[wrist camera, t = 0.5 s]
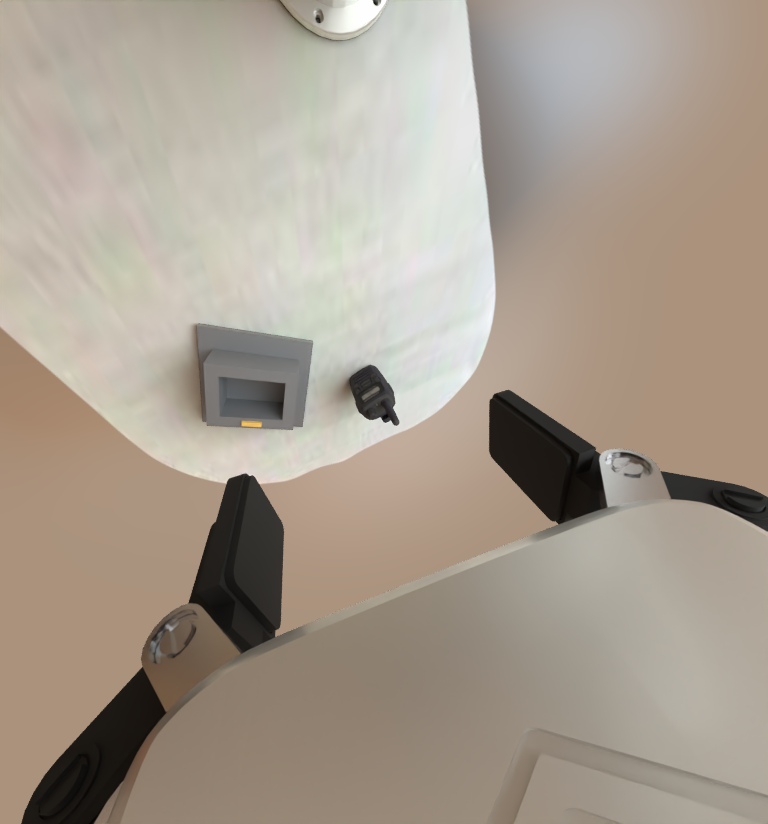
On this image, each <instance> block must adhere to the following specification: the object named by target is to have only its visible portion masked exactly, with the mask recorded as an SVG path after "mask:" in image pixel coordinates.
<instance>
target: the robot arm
mask: <svg viewBox="0 0 768 824" xmlns="http://www.w3.org/2000/svg"><path fill="white" fill-rule="evenodd" d="M280 1H281V2H282V3H283V4H284V6H285V7H286V8H287V9H288V10H289V12H290V13H291V14H292V15H293V17H294V18H296V19H297V20H298V21H299V22H300V23H301V24H302V25H304V26H305V27H306V28H307V29H309V30H311V31H312V32H314V33H316V34H318V35H319V36H322V37H325V38H329V39H332V40H347V39H350V38H354V37H357V36H359V35H360V34H362V33H363V32H365V31H367V30H368V29H369V28H370V27H371V26H372V25H373V24H374V23H375V22H376V20H377V19H378V18H379V17H380V15H381V13H382V11H383V10H384V8H385V6H386V5H387V2H388V0H280ZM373 1H375V2H376V3H377V6H375V5H374V4H373ZM316 18H319V19H320V21H321V23H317V22H316V20H315V19H316ZM489 411H490V412H489V417H490V418H489V421H490V422H489V452H490V455H491V457H492V458H493V459H494V461H495V462H496V463H497V464H498V465H499V466H500V467H501V468H502V469H503V470H504V471H505V472H506V473H507V474H508V475H509V477H511V479H512V480H513V481H514V482H515V483H516V484H517V485H518V486H519V487H520V488H521V489H522V490H523V492H524V493H525V494H526V495H527V496H528V497H529V498H530V499H531V500H532V501H533V502H534V503H535V504H536V506H537V507H538V508H539V509H540V510H541V511H542V512H543V513H544V514H545V515H546V516H547V517H548V518H549V519H550V520H551V521H556V522H557V523H558V524H559V525H556V526H554V527H551V528H548V529H546V530H543V531H541V532H538V533H536V534H533V535H531V536H528V537H525V538H522V539H520V540H517V541H515V542H512V543H510V544H507V545H504V546H502V547H499V548H497V549H494V550H492V551H489V552H486V553H484V554H481V555H479V556H476V557H474V558H471V559H468V560H466V561H463V562H461V563H458V564H456V565H453V566H451V567H448V568H446V569H443V570H441V571H438V572H436V573H433V574H430V575H428V576H425V577H423V578H420V579H418V580H415V581H412V582H410V583H408V584H405V585H402V586H400V587H397V588H395V589H393V590H390V591H387V592H385V593H382V594H380V595H377V596H375V597H372V598H370V599H367V600H365V601H362V602H360V603H357V604H355V605H352V606H350V607H347V608H345V609H342V610H340V611H337V612H335V613H332V614H330V615H327V616H325V617H322V618H320V619H318V620H315V621H313V622H311V623H308V624H306V625H303V626H301V627H298V628H296V629H294V630H291V631H289V632H286V633H284V634H282V635H280V636H277V637H275V630H277V629H279V628H280V622H281V598H282V569H283V541H284V540H283V539H284V529H283V524H282V522H281V520H280V519H279V517H278V515H277V514H276V512H275V510H274V508H273V507H272V505H271V504H270V502H269V500H268V498H267V497H266V495H265V493H264V492H263V490H262V488H261V487H260V485H259V483H258V482H257V480H256V478H255V477H254V476H249V475H248V474H242V475H239V476H236V477H233V478H230V479H228V481H227V485H226V488H225V492H224V495H223V499H222V502H221V506H220V510H219V514H218V517H217V520H216V522H215V523H214V524H213V525H212V527H211V529H210V532H209V535H208V539H207V542H206V546H205V549H204V553H203V556H202V559H201V563H200V566H199V569H198V573H197V576H196V580H195V583H194V586H193V590H192V593H191V597H190V600H189V603H188V604H186V605H182V606H180V607H179V608H176V609H175V610H173V611H172V612H170V613H169V614H168V615H167V616H165V617H164V618H163V619H162V620H161V621H160V622H159V624H157V626H156V627H155V628H154V629H153V631H152V633H151V634H150V635H149V637H148V638H147V641H146V643H145V645H144V647H143V651H142V657H141V661H142V666H143V667H142V668H141V669H140V670H139V671H138V672H137V674H136V675H135V676H134V677H133V678H132V679H131V680H130V681H129V682H128V683H127V685H126V686H125V687H124V688H123V689H122V690H121V691H120V692H119V693H118V694H117V695H116V696H115V698H114V699H113V700H112V701H111V702H110V703H109V704H108V705H107V706H106V707H105V708H104V709H103V711H102V712H101V713H100V714H99V715H98V716H97V717H96V718H95V719H94V720H93V722H92V723H91V724H90V725H89V726H88V727H87V728H86V729H85V730H84V731H83V732H82V733H81V734H80V736H79V737H78V738H77V739H76V740H75V741H74V742H73V743H72V745H70V747H69V748H68V749H67V750H66V751H65V752H64V753H63V754H62V755H61V756H60V757H59V759H58V760H57V761H56V762H55V763H54V764H53V766H52V767H51V768H50V769H49V771H48V772H47V773H46V774H45V776H44V777H43V779H42V780H41V782H40V784H39V785H38V787H37V788H36V790H35V791H34V793H33V795H32V797H31V799H30V801H29V804H28V806H27V808H26V810H25V813H24V816H23V819H22V823H21V824H768V497H766V496H764V495H763V494H761V493H759V492H757V491H754V490H752V489H749V488H746V487H743V486H739V485H735V484H731V483H725V482H719V481H714V480H708V479H702V478H697V477H690V476H685V475H679V474H674V473H668V472H662V471H660V469H659V467H658V466H657V464H656V463H655V462H654V461H653V460H652V459H650V458H649V457H647V456H645V455H643V454H641V453H638V452H635V451H632V450H627V449H611V450H607V451H605V452H603V453H602V454H599V453H598V452H596V451H595V450H596V448H595V447H594V446H592V445H591V444H589V443H588V442H586V441H585V440H583V439H582V438H580V437H579V436H577V435H576V434H575V433H573V432H572V431H570V430H569V429H567V428H565V427H564V426H562V425H561V424H559V423H558V422H557V421H555V420H554V419H552V418H551V417H549V416H548V415H546V414H545V413H543V412H542V411H540V410H539V409H537V408H536V407H534V406H533V405H531V404H530V403H528V402H527V401H525V400H524V399H522V398H521V397H519V396H518V395H516V394H515V393H513V392H512V391H510V390H506V391H502V392H499V393H496V394H494V395H493V398H492V399H491V400H490V410H489Z"/></svg>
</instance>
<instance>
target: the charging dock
mask: <svg viewBox="0 0 768 824" xmlns="http://www.w3.org/2000/svg"><path fill="white" fill-rule="evenodd" d="M197 340H198V356H199V371H200V387H201V402H202V418H203V422H207V426H225V427H245V428H264V429H284V430H293V426H295V427H303V419H304V411H305V403H306V395H307V387H308V379H309V371H310V363H311V355H312V347H313V341H310V340H304V339H297V338H291V337H284V336H278V335H271V334H264V333H258V332H251V331H245V330H238V329H232V328H225V327H219V326H212V325H206V324H198V325H197Z"/></svg>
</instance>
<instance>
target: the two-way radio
mask: <svg viewBox="0 0 768 824" xmlns="http://www.w3.org/2000/svg"><path fill="white" fill-rule="evenodd" d="M350 385H351V389H352V393H353V396H354V398H355V401H356V406H357V408H358V411H359V412H360V413H361V414H362V415H363V416H364V417H365V418H367V419H369V420H374V419H377V418H380V417H381V418H382V420H383V422H385V423H387V422H388V421H390V420H391V421H392V423H393V424H394V425H396V426H397V425H398V424H399V420H398V418H397V416H396V413H395V411H394V409H393V407H394V405H395V397H394V392H393V390H392V388H391V386H390V385H389V383H387V381H386V380H385V378H384V377H383V375H382V374H381V373H380V371H379V370H378V369H377V368H376V367H375V366H372V365H369V366H367V367H365V368H364V369H362V370H361V371H359V372H357V373H356V374H355V375H353V376H352V377H351V378H350Z"/></svg>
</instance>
